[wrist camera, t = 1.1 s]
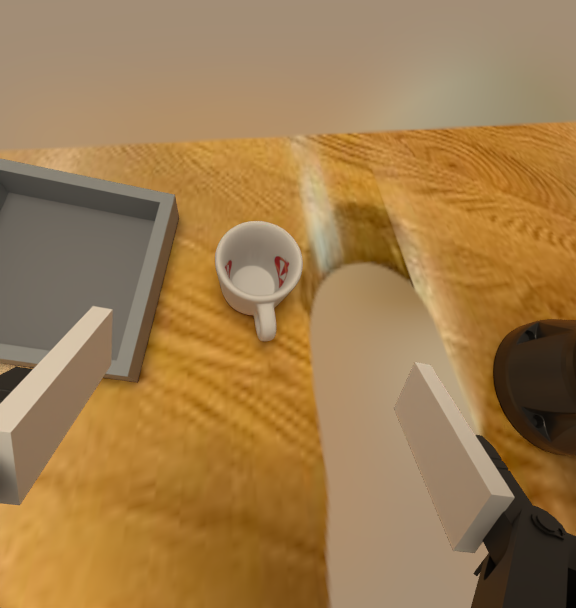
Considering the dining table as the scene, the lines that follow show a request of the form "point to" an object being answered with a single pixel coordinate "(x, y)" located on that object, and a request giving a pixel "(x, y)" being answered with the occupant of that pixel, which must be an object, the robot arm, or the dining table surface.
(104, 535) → the dining table surface
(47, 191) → the tray
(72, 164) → the dining table surface
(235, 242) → the cup
